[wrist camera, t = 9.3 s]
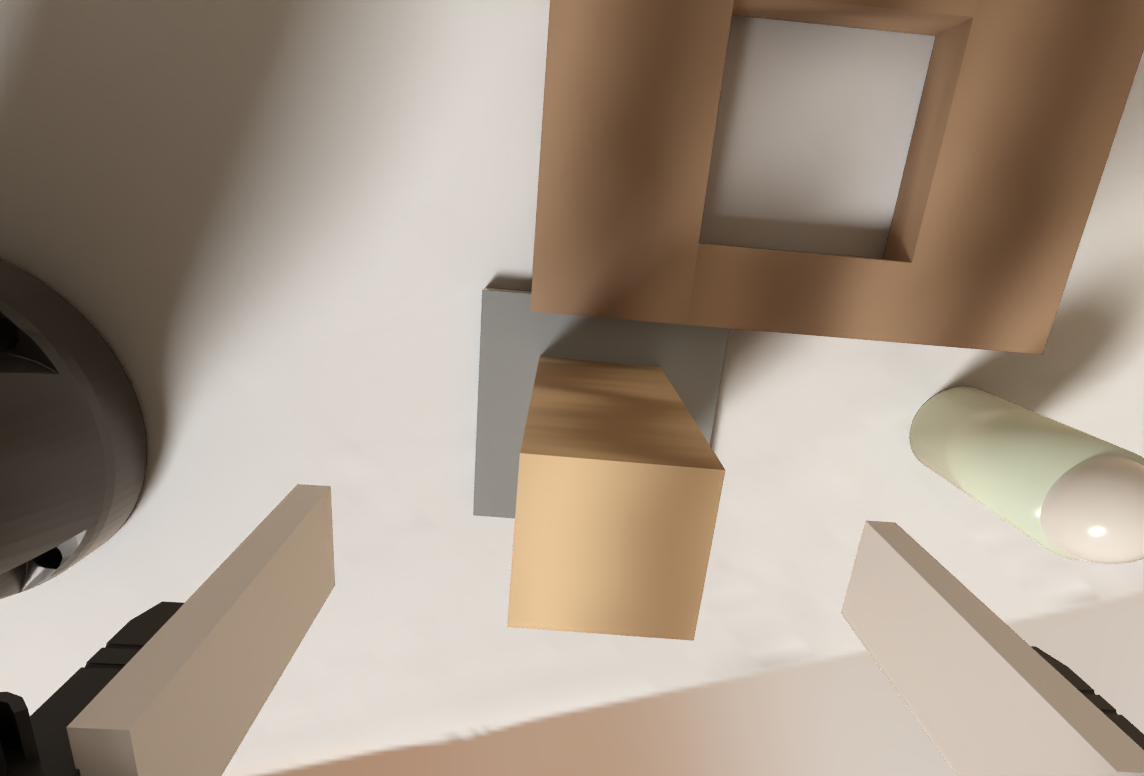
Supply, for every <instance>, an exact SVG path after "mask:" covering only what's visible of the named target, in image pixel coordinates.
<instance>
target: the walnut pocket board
mask: <svg viewBox="0 0 1144 776" xmlns="http://www.w3.org/2000/svg"><path fill="white" fill-rule="evenodd" d="M732 15H736V16H746V17H756V18H766V19H776V20H786V21H795V22H805V23H815V24H825V25H835V26H845V27H855V28H864V29H874V30H884V31H894V32H904V33H914V34H924V35H934V36H936V38H935V42H934V46H933V50H932V55H931V59H930V63H929V67H928V71H927V76H926V80H925V84H924V88H923V93H922V97H921V101H920V105H919V109H918V114H917V118H916V122H915V126H914V131H913V135H912V139H911V143H910V147H909V152H908V156H907V160H906V164H905V169H904V173H903V177H902V181H901V185H900V190H899V194H898V198H897V202H896V206H895V211H894V215H893V219H892V223H891V228H890V232H889V236H888V240H887V244H886V249H885V253H884V257H883V259H875V258H864V257H852V256H841V255H830V254H818V253H807V252H796V251H785V250H773V249H762V248H751V247H739V246H728V245H717V244H706V243H699V238H700V231H701V224H702V217H703V210H704V203H705V197H706V190H707V183H708V176H709V169H710V162H711V155H712V148H713V141H714V134H715V128H716V121H717V114H718V107H719V100H720V93H721V86H722V79H723V72H724V65H725V59H726V52H727V45H728V38H729V31H730V24H731V17H732ZM1143 50H1144V0H550V11H549V27H548V42H547V58H546V73H545V89H544V104H543V120H542V135H541V151H540V166H539V182H538V197H537V213H536V228H535V244H534V259H533V275H532V290H531V306H530V312H542V313H554V314H566V315H577V316H589V317H601V318H613V319H625V320H637V321H649V322H661V323H673V324H685V325H697V326H709V327H720V328H732V329H744V330H756V331H768V332H780V333H792V334H804V335H816V336H828V337H840V338H852V339H863V340H875V341H887V342H899V343H911V344H923V345H935V346H947V347H959V348H971V349H983V350H995V351H1006V352H1018V353H1030V354H1042V355H1043V352H1044V349H1045V346H1046V343H1047V340H1048V336H1049V333H1050V330H1051V327H1052V324H1053V321H1054V318H1055V315H1056V312H1057V309H1058V306H1059V303H1060V300H1061V297H1062V294H1063V291H1064V288H1065V285H1066V282H1067V279H1068V276H1069V273H1070V270H1071V267H1072V264H1073V261H1074V258H1075V255H1076V252H1077V249H1078V246H1079V243H1080V240H1081V237H1082V234H1083V231H1084V228H1085V225H1086V222H1087V219H1088V216H1089V213H1090V210H1091V207H1092V204H1093V201H1094V198H1095V195H1096V192H1097V189H1098V186H1099V183H1100V180H1101V176H1102V173H1103V170H1104V167H1105V164H1106V161H1107V158H1108V155H1109V152H1110V149H1111V146H1112V143H1113V140H1114V137H1115V134H1116V131H1117V128H1118V125H1119V122H1120V119H1121V116H1122V113H1123V110H1124V107H1125V104H1126V101H1127V98H1128V95H1129V92H1130V89H1131V86H1132V83H1133V80H1134V77H1135V74H1136V71H1137V68H1138V65H1139V62H1140V59H1141V56H1142V53H1143Z"/></svg>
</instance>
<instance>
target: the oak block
mask: <svg viewBox="0 0 1144 776" xmlns="http://www.w3.org/2000/svg"><path fill="white" fill-rule="evenodd" d="M724 474H725V469H724V467H723V466H722V464H721V463H720V461H719V459H718V458H717V456H716V455H715V453H714V451H713V450H712V448H711V447H710V445H709V443H708V442H707V440H706V439H705V437H704V435H703V434H702V432H701V431H700V429H699V427H698V426H697V424H696V423H695V421H694V419H693V418H692V416H691V415H690V413H689V411H688V410H687V408H686V407H685V405H684V404H683V402H682V400H681V399H680V397H679V396H678V394H677V392H676V391H675V389H674V388H673V386H672V384H671V383H670V381H669V380H668V378H667V376H666V375H665V373H664V372H663V370H662V368H661V367H655V366H643V365H632V364H621V363H610V362H598V361H587V360H576V359H565V358H553V357H542V356H540V357H539V362H538V367H537V372H536V377H535V382H534V386H533V391H532V396H531V401H530V406H529V411H528V416H527V421H526V425H525V430H524V435H523V440H522V445H521V450H520V458H519V472H518V485H517V499H516V513H515V527H514V541H513V555H512V569H511V582H510V596H509V610H508V624H507V627H516V628H530V629H544V630H557V631H571V632H585V633H599V634H612V635H626V636H640V637H654V638H667V639H681V640H694V636H695V630H696V625H697V620H698V614H699V609H700V604H701V598H702V593H703V587H704V582H705V577H706V571H707V566H708V561H709V555H710V550H711V544H712V539H713V534H714V528H715V523H716V517H717V512H718V507H719V501H720V496H721V491H722V485H723V480H724Z"/></svg>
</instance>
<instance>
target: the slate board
mask: <svg viewBox="0 0 1144 776" xmlns="http://www.w3.org/2000/svg"><path fill="white" fill-rule="evenodd" d="M530 306H531V291H519V290H507V289H496V288H484V289H483V290H482V312H481V337H480V362H479V387H478V412H477V437H476V462H475V487H474V512H473V515H477V516H491V517H505V518H515V513H516V499H517V485H518V472H519V458H520V450H521V445H522V440H523V435H524V430H525V425H526V421H527V416H528V411H529V406H530V401H531V396H532V391H533V386H534V382H535V377H536V372H537V367H538V362H539V357H540V356H542V357H553V358H565V359H576V360H587V361H598V362H610V363H621V364H632V365H643V366H655V367H661V368H662V370H663V372H664V373H665V375H666V376H667V378H668V380H669V381H670V383H671V384H672V386H673V388H674V389H675V391H676V392H677V394H678V396H679V397H680V399H681V400H682V402H683V404H684V405H685V407H686V408H687V410H688V411H689V413H690V415H691V416H692V418H693V419H694V421H695V423H696V424H697V426H698V427H699V429H700V431H701V432H702V434H703V435H704V437H705V439H706V440H707V442H708V443H709V445H710V440H711V434H712V428H713V422H714V417H715V411H716V405H717V399H718V393H719V387H720V381H721V375H722V369H723V363H724V357H725V351H726V345H727V339H728V333H729V328H720V327H709V326H697V325H685V324H673V323H661V322H649V321H637V320H625V319H613V318H601V317H589V316H577V315H566V314H554V313H542V312H530Z"/></svg>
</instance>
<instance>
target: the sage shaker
mask: <svg viewBox="0 0 1144 776" xmlns="http://www.w3.org/2000/svg"><path fill="white" fill-rule="evenodd" d="M909 438H910V445H911V449H912V451H913V453H914V455H915V457H916V458H917V459H918V460H919V461H920V462H921V463H922V464H924V465H925V466H926V467H928V468H929V469H931V470H932V471H934V472H935V473H937V474H938V475H940V476H941V477H942V478H944V479H945V480H947V481H948V482H950V483H951V484H953V485H954V486H956V487H957V488H959V489H960V490H961V491H963V492H964V493H966V494H967V495H969V496H970V497H972V498H973V499H975V500H976V501H977V502H979V503H980V504H982V505H983V506H985V507H986V508H988V509H989V510H991V511H992V512H993V513H995V514H996V515H998V516H999V517H1001V518H1002V519H1004V520H1005V521H1007V522H1008V523H1009V524H1011V525H1012V526H1014V527H1015V528H1017V529H1018V530H1020V531H1021V532H1023V533H1024V534H1025V535H1027V536H1028V537H1030V538H1031V539H1033V540H1034V541H1036V542H1037V543H1039V544H1040V545H1041V546H1043V547H1044V548H1046V549H1047V550H1049V551H1050V552H1052V553H1054V554H1055V555H1058V556H1060V557H1063V558H1066V559H1072V560H1084V561H1088V562H1092V563H1099V564H1125V563H1131V562H1136V561H1139V560H1142V559H1144V458H1142V457H1141V456H1139V455H1137V454H1135V453H1133V452H1130V451H1128V450H1125V449H1123V448H1120V447H1118V446H1116V445H1113V444H1111V443H1108V442H1106V441H1103V440H1101V439H1099V438H1096V437H1094V436H1091V435H1089V434H1086V433H1084V432H1082V431H1079V430H1077V429H1074V428H1072V427H1069V426H1067V425H1065V424H1062V423H1060V422H1057V421H1055V420H1053V419H1050V418H1048V417H1045V416H1043V415H1040V414H1038V413H1036V412H1033V411H1031V410H1028V409H1026V408H1023V407H1021V406H1019V405H1016V404H1014V403H1011V402H1009V401H1006V400H1004V399H1002V398H999V397H997V396H994V395H992V394H989V393H987V392H985V391H982V390H980V389H977V388H973V387H955V388H950V389H947V390H944V391H942V392H940V393H938V394H936V395H935V396H933V397H932V398H930V399H929V400H928V401H927V402H926V403H925V404H924V405H923V406H922V407H921V408H920V409H919V411H918V412H917V414H916V415H915V417H914V419H913V422H912V425H911V428H910V437H909Z"/></svg>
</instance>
